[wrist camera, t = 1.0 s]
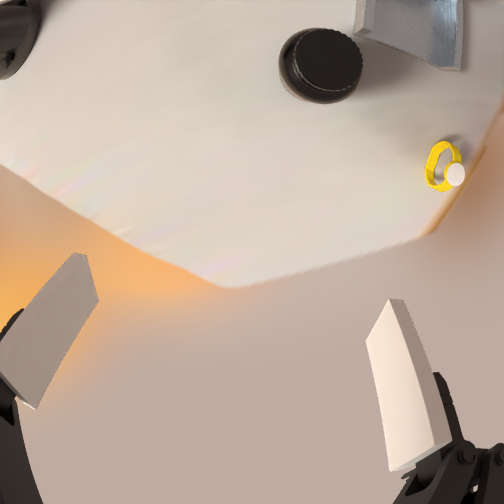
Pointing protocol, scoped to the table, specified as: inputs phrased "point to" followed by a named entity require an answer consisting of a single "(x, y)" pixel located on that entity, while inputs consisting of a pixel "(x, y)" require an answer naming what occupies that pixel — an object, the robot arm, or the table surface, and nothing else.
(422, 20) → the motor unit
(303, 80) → the supplement bottle
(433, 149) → the watch
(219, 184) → the table surface
